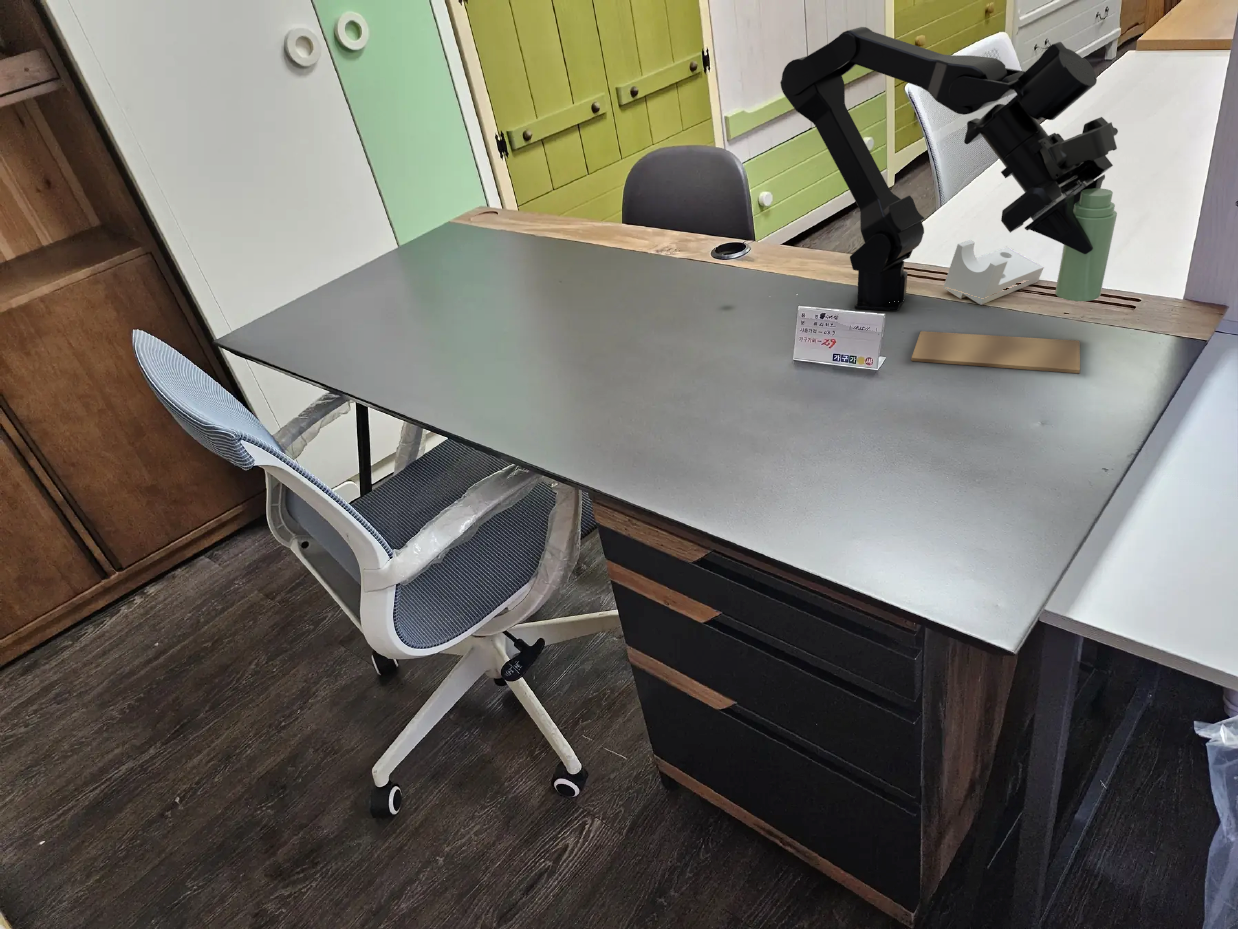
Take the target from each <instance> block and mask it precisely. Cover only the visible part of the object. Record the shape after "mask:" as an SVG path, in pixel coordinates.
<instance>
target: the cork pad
mask: <svg viewBox="0 0 1238 929" xmlns="http://www.w3.org/2000/svg"><path fill="white" fill-rule="evenodd" d="M1080 343H1081V342H1080V340H1077V339H1076V340H1072V339H1057V338H1041V337H1040V338H1039V337H1025V336H1024V337H1023V336H1008V335H991V334H990V335H989V334H975V333H974V334H973V333H959V332H958V333H956V332H943V331H942V332H940V331H925V330H921V331H919V335H918V338H917V341H916V343H915V346H914V350H913V353H912V355H911V360H910V362H920V363H921V362H922V363H931V364H932V363H934V364H946V365H947V364H948V365H960V366H961V365H962V366H973V367H974V366H975V367H985V368H986V367H987V368H1000V369H1001V368H1002V369H1015V370H1027V371H1041V372H1042V371H1043V372H1055V373H1068V374H1080V372H1081V348H1080V347H1081V345H1080Z"/></svg>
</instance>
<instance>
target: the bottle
mask: <svg viewBox="0 0 1238 929" xmlns="http://www.w3.org/2000/svg"><path fill="white" fill-rule="evenodd" d="M1113 194H1114V192H1113V190H1111V189H1108V188H1102V187H1101V188H1092V189H1085V190H1083V191H1081V195H1080V201H1079V202H1076V203H1075V204H1074V209H1073V213H1074V214H1075V216H1076V218H1077V219H1078V221H1079V223H1080V225H1081V226H1082V228H1083V230H1084V231H1085V233H1086V235H1087V237H1088V238H1089V240H1090V242H1091V245H1092V247H1093V250H1092V251H1090V252H1089V253H1087V254H1083V253H1081V252H1079V251H1077V250H1074V249H1072V248H1070V247H1068V246H1066V245H1064V244H1062V245H1063V246H1062V252H1061V258H1060V263H1059V267H1058V268H1059V270H1058V273H1057V280H1056V287H1055V295H1056V296H1057V297H1058V298H1060V299H1063V300H1066V301H1071V302H1091V301H1095V300H1097V299H1099V298H1100V297H1101V295H1102V290H1103V284H1104V280H1105V275H1106V270H1107V266H1108V260H1109V256H1110V251H1111V245H1112V240H1113V237H1114V236H1113V235H1114V231H1115V226H1116V221H1117V216H1118V212H1117V211H1116V210H1115V208H1116V204H1115V203H1114V202H1113V201H1112V200H1113V199H1112V198H1113Z"/></svg>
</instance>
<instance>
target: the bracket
mask: <svg viewBox="0 0 1238 929" xmlns="http://www.w3.org/2000/svg"><path fill="white" fill-rule="evenodd" d="M974 247H975V241H973V240H971V239H967V240H965V241H962V242H960V243H957V245H956V247H955V250H954V254H953V257H952V260H951V263H950V265H949V268H948V272H947V275H946V277H945V281H944V284H943V286H944V287H949V288H951V289H956V290H958V291H962V292H964V293H968V294H970V295H968V294H964V293H961V292H958V291H954V290H951V289H947V288H944V287H943V289H944V290H946V291H947V292H949V293H950V294H952V295H954V296H955V297H957V298H958V299H960V300H961V299H964V298H966V297H967V298H968V299H970V300H972V301H973V302H975V303H977V304H978V305H980V306H981V305H985V304H987V303H989V302H991V301H995V300H996V299H999V298H1001V297H1004V296H1006V295H1008V294H1011V293H1014V292H1016V291H1018V290H1021V289H1024V288H1026V287H1028V286H1031V285H1033V284H1036V283H1038V282H1039V281H1040V278H1041V275H1042V273H1043V271H1044V269H1045V266H1044V265H1042V264H1040V263H1038V262H1036V261H1034V260H1033V259H1031V258H1029V257H1027V256H1025V255H1024V254H1022V253H1020V252H1019V251H1017V250H1014V249H1012V248H1011V247H1010V246H1008V245H1006V246H1003V247H1001V248H998V249H996V250H993V251H990V252H988V253H986V254H985V253H984V254H983V255H980V256H977V257H976V255H975V249H974ZM1023 280H1029V281H1026V282H1024V283H1021V284H1019V285H1017V286H1014V287H1012V288H1009V289H1007V290H1004V291H1002V290H1003V289H1006V288H1008V287H1010V286H1012V285H1015V284H1016V283H1018V282H1021V281H1023ZM998 291H1002V292H999V293H997V292H998ZM994 293H997V294H994ZM992 294H994V295H992ZM971 295H973V296H971ZM990 295H992V296H990ZM974 296H977V297H974ZM987 296H989V297H987ZM978 297H980V298H978ZM985 297H987V298H985ZM981 298H984V299H981Z"/></svg>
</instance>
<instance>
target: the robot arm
mask: <svg viewBox="0 0 1238 929" xmlns="http://www.w3.org/2000/svg"><path fill="white" fill-rule="evenodd" d="M856 65H857V66H859V67H862V68H865V69H867V70H871V71H873V72H876V73H879V74H882V75H885V76H886V77H887V76H888V77H891V78H892V79H896V80H898V81H900V82H901V81H902V82H904V83H907V84H910V85H913V86H916V87H919V88H921V89H923V90H924V91H926V92H927V93H928V94H929V95H930V97H932V99H934V100H935V101H936V102H937V103H939V104H940V105H942V106H944V107H945V108H947V109H948V110H950V111H951V112H954V113H956V114H958V115H964V116H965V115H970V114H973V113H976V112H978V111H980V110H983V109H985V108H988V107H990V106H992V105H993V106H992V107H991V108H990V109H989V110H988V111H987V112H986V113H985V114H984V115H983V116H982V117H981V118H977V117H976V118H973V119H970V120H968V121H967V122H966V126H967V127H966V132H965V136H964V140H963V142H964V144H965V145H970V144H972V143H974V142H976V141H978V140H981V139H984V140H985V142H986V143H987V144H988V146H989V147H990V149H991V150H992V151H993V153H995V155H996V156H997V157H998V159H999V161H1001V163H1002V164H1003V166H1004V167H1005V168H1004V169H1002V170H1001V171H1000V174H1001V175H1002V176H1003V177H1004V179H1008V177H1013V179H1014V180H1015V181H1016V183H1017V184H1018V185H1019V187H1020V188H1021V189H1022V191H1023V192H1024V193H1023V194H1021V195H1020V196H1019V197H1017V198H1016V199H1015V200H1013V201H1012V202H1011V203H1010V204H1008V205H1007V206H1006V207H1004V208H1003V209H1002V211H1001V217H1000V218H1001V219H1000V222H1001V223H1002V224H1003V225H1004V227H1005V228H1006V229H1007V231H1008V233H1009V234H1010V233H1013V232H1014V231H1016V230H1017V229H1019V228H1021V227H1022V226H1023V225H1024V223H1025V222H1027V221H1028V220H1030V219H1031V220H1032V221H1031V222H1030V223H1029V224H1027V225H1026V226H1025V227H1024V230H1026V231H1027V232H1028V231H1032V232H1034V233H1036V234H1037V233H1038V234H1039V235H1042V236H1044V237H1047V238H1049V239H1051V240H1052V241H1053V240H1054V241H1055V242H1057V243H1061V244H1062V245H1066V246H1068V247H1070V248H1072V249H1074V250H1077V251H1079V252H1081V253H1083V254H1087V253H1089V252H1090V251H1092V250H1093V247H1092V245H1091V242H1090V240H1089V238H1088V237H1087V235H1086V233H1085V231H1084V230H1083V228H1082V226H1081V225H1080V223H1079V221H1078V219H1077V218H1076V216H1075V214H1074V213H1073V209H1074V204H1075V203H1076V202H1079V201H1080V195H1081V191H1083V190H1085V189H1092V188H1101V189H1102V184H1103V182H1104V180H1105V179H1106V174H1105V172H1107V171H1108V170H1109V169H1111V168H1112V167H1113V166H1114V165H1113V164H1112V162H1111V161H1110V160H1109V159H1108V157H1107V155H1108V154H1109V152H1111V151H1117V149H1118V147H1117V143H1116V140H1115V136H1117V134H1118V133H1119V130H1118V128H1117V127H1114V126H1113V122H1112V121H1110V122H1108V121H1107V120H1106V119H1105V118H1104V117H1103V116H1100V117H1098V118H1095V119H1092V120H1089V121H1088V122H1086V123H1084V124H1083V128H1082V133H1080V134H1079V133H1078V134H1077V135H1075V136H1072V137H1069V138H1067V139H1064V138H1063V136H1062V135H1061V134H1060V133H1056V132H1053V133H1051V134H1048V133H1047V131H1046V130H1045V129H1044V127H1043V126H1042V125H1041V123H1040V122H1039V121H1041V120H1043V119H1045V120H1048V121H1053V120H1055V119H1057V118H1058V117H1059V116H1060V115H1061V114H1062V113H1064V112H1065V111H1066V110H1067V109H1068V108H1070V107H1071V106H1072V105H1073V104H1074V103H1076V102H1077V101H1078V100H1079V99H1080V98H1081V97H1083V96H1084V95H1085V94H1086V93H1087V92H1089V91H1090V90H1091V89H1092V88H1094V86H1096V84H1097V75H1096V72H1095V69H1094V68H1093V66H1092V65H1091V63H1090V62H1089V61H1088V59H1086V57H1082V56H1081V55H1079V54H1078V53H1077V52H1076V51H1074V50H1072V49H1070V48H1067V47H1066V46H1065V45H1064V43H1063V42H1062V41H1058V42H1055V43H1052V44H1051V45H1049V46H1048V47H1047V49H1045V50H1044V51H1043V53H1042V54H1041V56H1040V57H1039V58H1038V59H1037V60H1036V61H1035V62H1034V63H1033V64H1032V65H1031V66H1030V67H1029V68H1028V69H1026V70H1020V69H1014V68H1008V67H1006V64H1005V63H1003V61H1002V60H1000V59H998V58H995V57H988V56H980V55H979V56H978V55H964V54H963V55H962V54H961V55H960V54H959V55H958V54H957V55H955V54H954V55H953V54H952V55H951V54H944V53H940V52H936V51H934V50H930V49H927V48H925V47H921V46H918V45H916V44H912V43H910V42H907V41H903V40H900V39H896V38H894V37H891V36H887V35H885V34H882V33H878V32H876V31H873V30H871V29H870V28H868V27H866V26H859V27H856V28H852V29H849V30H845V31H843V32H841V33H840V34H839V35H838V36H837V37H836V38H834V39H833V40H832V41H830V42H828V43H827V44H825V45H823V46H822V47H820V48H818V49H817V50H815V51H814V52H811V53H810V54H808V55H806V56H803V57H800V58H796V59H793V60H790V61H788V63H787V64H786V65H785V66H784V68H783V71H782V74H781V80H780V82H779V83H780V89H781V92H782V94H783V95H784V97H785V98H786V100H787V101H788V102H789V104H790V105H791V106H792V108H793V109H794V110H795V111H796V112H797V113H798V114H799V115H801V116H803V118H805V119H806V120H808V121H810V122H811V123H812V124H813V125H814V126H815V128H816V131H817V132H818V133H819V135H820V138H821V139H822V141H823V143H824V146H825V147H826V149H827V151H828V153H829V155H830V156H831V158H832V160H833V162H834V163H835V165H836V168H837V170H838V171H839V173H840V175H841V177H842V179H843V180H844V183H845V184H846V186H847V189H848V191H849V192H850V193H851V196H852V197H853V199H854V201H855V203H856V205H857V207H858V209H859V216H860V217H859V218H860V219H859V220H860V223H859V224H860V225H859V226H860V227H859V228H860V233H861V236H862V239H863V242H864V243H863V244H862V245H861V246H859V248H857V249H856V250H855V251H854V252H853V253H852V254H851V255H850V256H849V260H850V264H851V268H852V270H853V271H857V272H858V273H857V298H856V302H855V303H854V309H856V310H857V309H858V310H875V311H877V310H878V311H893V312H894V311H898V310H899V309H900V306H901V305H902V304H903V303H904V302H905V299H906V297H907V286H908V271H906V270H905V260H909V259H910V258H911V256H912V253H913V251H914V250H915V249H916V248H918V247H919V246H920V245H921V243H922V241H923V237H924V234H925V227H924V224H923V222H922V221H924V220H925V217H924V216H923V215H922V214H920V212H919V210H918V209H917V206H916V204H915V200H914V199H913V197H912V196H911V195H907V196H905V197H902V198H900V197H899V196H898V195H896V194H895V193H894V192H892V191H891V189H890V187H889V185H888V183H887V181H886V179H885V177H884V176H883V174H882V172H881V171H880V168H879V167H878V164H877V162H876V160H875V159H874V157H873V156H872V153H871V151H870V150H869V148H868V146H867V144H866V142H865V140H864V138H863V136H862V135H861V133H860V130H859V129H858V127H857V125H856V124H855V121H854V119H853V117H852V116H851V114H850V112H849V110H848V108H847V106H846V96H845V95H846V92H845V91H846V90H845V89H846V88H845V81H844V78H843V76H844V75H845V74H847V73H848V72H849V71H851V70H852V69H853V68H855V66H856ZM1013 94H1016V95H1014V97H1013V98H1011V99H1010V100H1009V101H1008V102H1007V103H1006V104H1005V103H1004V104H1003V103H998V102H999V101H1000V100H1002V99H1004V98H1006V97H1008V96H1011V95H1013ZM995 103H997V104H995ZM994 104H995V105H994ZM904 270H905V271H904ZM904 298H905V299H904ZM903 300H904V301H903ZM894 301H895V302H894ZM898 301H899V302H898ZM889 302H890V303H889Z"/></svg>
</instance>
